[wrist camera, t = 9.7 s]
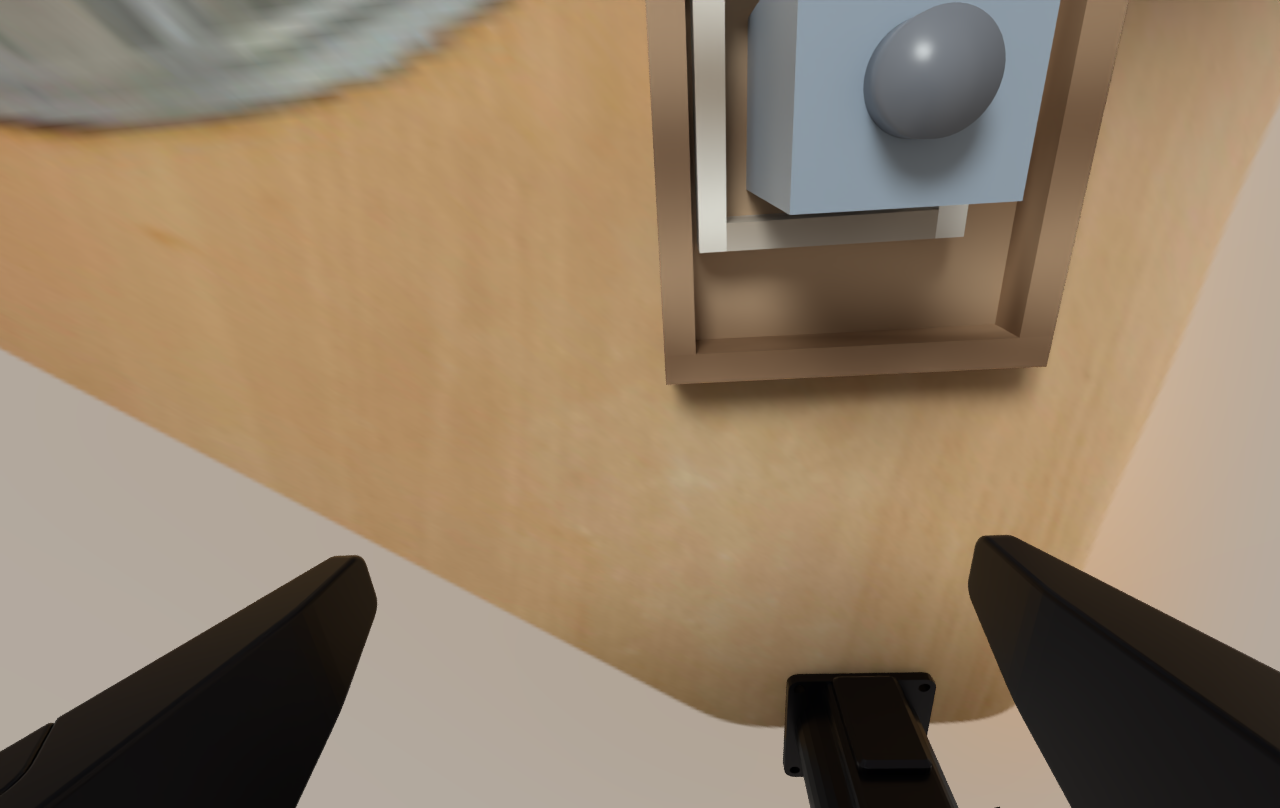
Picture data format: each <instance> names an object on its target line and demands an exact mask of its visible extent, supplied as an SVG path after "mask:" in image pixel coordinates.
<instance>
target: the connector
mask: <svg viewBox="0 0 1280 808" xmlns="http://www.w3.org/2000/svg"><path fill="white" fill-rule="evenodd" d="M1059 6H1060V0H759V2H758V3H757V5H756V6H755V8H754V10H753V11H752V13H751V14H750V16H749V17H748V53H747V154H746V190H748V191H750V192H751V193H753V194H755V195H757V196H758V197H760V198H762V199H763V200H765V201H767V202H769V203H770V204H772V205H774V206H775V207H777V208H779V209H780V210H782V211H784V212H786V213H787V214H789V215H797V214H814V213H831V212H847V211H864V210H881V209H897V208H914V207H931V206H947V205H964V204H981V203H998V202H1014V201H1022V200H1023V195H1024V190H1025V184H1026V179H1027V174H1028V169H1029V163H1030V158H1031V153H1032V148H1033V142H1034V137H1035V132H1036V127H1037V121H1038V116H1039V111H1040V106H1041V100H1042V95H1043V90H1044V85H1045V79H1046V74H1047V69H1048V63H1049V58H1050V53H1051V48H1052V42H1053V37H1054V32H1055V27H1056V21H1057V16H1058V11H1059Z"/></svg>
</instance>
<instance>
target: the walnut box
mask: <svg viewBox="0 0 1280 808" xmlns="http://www.w3.org/2000/svg"><path fill="white" fill-rule="evenodd" d="M1128 1H1129V0H1060V6H1059V11H1058V16H1057V21H1056V27H1055V32H1054V37H1053V42H1052V48H1051V53H1050V58H1049V63H1048V69H1047V74H1046V79H1045V85H1044V90H1043V95H1042V100H1041V106H1040V111H1039V116H1038V121H1037V127H1036V132H1035V137H1034V142H1033V148H1032V153H1031V158H1030V163H1029V169H1028V174H1027V179H1026V184H1025V190H1024V195H1023V200H1022V201H1014V202H998V203H981V204H964V205H947V206H931V207H914V208H897V209H881V210H864V211H847V212H831V213H814V214H797V215H789V214H787V213H786V212H784V211H782V210H780V209H779V208H777V207H775V206H774V205H772V204H770V203H769V202H767V201H765V200H763V199H762V198H760V197H758V196H757V195H755V194H753V193H751V192H750V191H748V190H746V154H747V53H748V17H749V16H750V14H751V13H752V11H753V10H754V8H755V6H756V5H757V3H758V2H759V0H646V18H647V37H648V55H649V74H650V93H651V111H652V130H653V148H654V167H655V185H656V204H657V223H658V241H659V260H660V278H661V297H662V316H663V334H664V353H665V371H666V385H671V384H692V383H713V382H734V381H754V380H775V379H796V378H817V377H838V376H859V375H880V374H900V373H921V372H942V371H963V370H984V369H1005V368H1026V367H1046V366H1047V362H1048V357H1049V353H1050V348H1051V344H1052V339H1053V335H1054V330H1055V326H1056V322H1057V317H1058V313H1059V308H1060V304H1061V299H1062V295H1063V290H1064V286H1065V281H1066V277H1067V273H1068V268H1069V264H1070V259H1071V255H1072V250H1073V246H1074V241H1075V237H1076V232H1077V228H1078V224H1079V219H1080V215H1081V210H1082V206H1083V201H1084V197H1085V192H1086V188H1087V184H1088V179H1089V175H1090V170H1091V166H1092V161H1093V157H1094V152H1095V148H1096V143H1097V139H1098V135H1099V130H1100V126H1101V121H1102V117H1103V112H1104V108H1105V103H1106V99H1107V95H1108V90H1109V86H1110V81H1111V77H1112V72H1113V68H1114V63H1115V59H1116V54H1117V50H1118V46H1119V41H1120V37H1121V32H1122V28H1123V23H1124V19H1125V14H1126V10H1127V6H1128Z"/></svg>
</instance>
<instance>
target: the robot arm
mask: <svg viewBox="0 0 1280 808" xmlns="http://www.w3.org/2000/svg"><path fill="white" fill-rule="evenodd" d="M968 590H969V595H970V599H971V601H972V604H973V606H974V609H975V611H976V613H977V616H978V618H979V621H980V623H981V625H982V628H983V630H984V632H985V635H986V637H987V640H988V642H989V644H990V647H991V649H992V652H993V654H994V656H995V659H996V661H997V663H998V666H999V668H1000V671H1001V673H1002V675H1003V678H1004V680H1005V683H1006V685H1007V687H1008V689H1009V691H1010V694H1011V696H1012V698H1013V700H1014V702H1015V704H1016V706H1017V708H1018V710H1019V712H1020V714H1021V716H1022V718H1023V720H1024V721H1025V723H1026V725H1027V727H1028V729H1029V731H1030V732H1031V734H1032V736H1033V738H1034V740H1035V742H1036V744H1037V745H1038V747H1039V749H1040V751H1041V753H1042V754H1043V756H1044V758H1045V760H1046V762H1047V763H1048V765H1049V767H1050V769H1051V771H1052V773H1053V775H1054V776H1055V778H1056V780H1057V782H1058V784H1059V785H1060V787H1061V789H1062V791H1063V793H1064V795H1065V797H1066V798H1067V800H1068V802H1069V804H1070V806H1071V808H1280V672H1279V671H1277V670H1275V669H1273V668H1271V667H1269V666H1267V665H1265V664H1263V663H1261V662H1259V661H1257V660H1255V659H1253V658H1252V657H1250V656H1247V655H1246V654H1244V653H1242V652H1240V651H1238V650H1236V649H1234V648H1232V647H1230V646H1228V645H1226V644H1224V643H1222V642H1220V641H1218V640H1216V639H1214V638H1212V637H1210V636H1208V635H1206V634H1204V633H1202V632H1201V631H1199V630H1197V629H1195V628H1193V627H1191V626H1188V625H1187V624H1185V623H1183V622H1181V621H1179V620H1177V619H1175V618H1173V617H1171V616H1169V615H1167V614H1165V613H1163V612H1161V611H1159V610H1157V609H1155V608H1153V607H1151V606H1150V605H1148V604H1146V603H1144V602H1142V601H1140V600H1138V599H1135V598H1134V597H1132V596H1130V595H1128V594H1126V593H1124V592H1122V591H1120V590H1118V589H1116V588H1114V587H1112V586H1110V585H1108V584H1106V583H1104V582H1102V581H1100V580H1098V579H1096V578H1095V577H1093V576H1091V575H1089V574H1087V573H1085V572H1083V571H1081V570H1079V569H1077V568H1075V567H1073V566H1071V565H1069V564H1067V563H1065V562H1063V561H1061V560H1059V559H1057V558H1055V557H1053V556H1051V555H1049V554H1048V553H1046V552H1044V551H1042V550H1040V549H1038V548H1036V547H1034V546H1032V545H1030V544H1028V543H1026V542H1024V541H1022V540H1020V539H1018V538H1016V537H1014V536H1011V535H989V536H982V537H980V538H979V539H978V540H977V542H976V545H975V549H974V554H973V559H972V564H971V569H970V574H969V579H968ZM376 610H377V597H376V593H375V590H374V587H373V584H372V581H371V578H370V575H369V572H368V568H367V566H366V563H365V561H364V559H363V558H362V557H360V556H357V555H349V556H334V557H331V558H329V559H327V560H326V561H324V562H322V563H320V564H319V565H317V566H315V567H314V568H312V569H310V570H309V571H307V572H305V573H303V574H302V575H300V576H298V577H297V578H295V579H293V580H292V581H290V582H288V583H286V584H285V585H283V586H281V587H279V588H278V589H276V590H274V591H273V592H271V593H269V594H268V595H266V596H264V597H262V598H261V599H259V600H257V601H256V602H254V603H252V604H251V605H249V606H247V607H246V608H244V609H242V610H240V611H239V612H237V613H235V614H234V615H232V616H230V617H229V618H227V619H225V620H224V621H222V622H220V623H218V624H217V625H215V626H213V627H212V628H210V629H208V630H206V631H205V632H203V633H201V634H200V635H198V636H196V637H195V638H193V639H191V640H189V641H188V642H186V643H185V644H183V645H181V646H179V647H178V648H176V649H174V650H172V651H171V652H169V653H167V654H166V655H164V656H162V657H161V658H159V659H157V660H155V661H154V662H152V663H150V664H149V665H147V666H145V667H144V668H142V669H140V670H138V671H137V672H135V673H133V674H132V675H130V676H128V677H127V678H125V679H123V680H121V681H120V682H118V683H117V684H115V685H113V686H111V687H110V688H108V689H106V690H104V691H103V692H101V693H99V694H98V695H96V696H94V697H93V698H91V699H89V700H88V701H86V702H84V703H83V704H81V705H79V706H77V707H76V708H74V709H72V710H71V711H69V712H67V713H65V714H64V715H62V716H60V717H59V718H57V720H56V721H55V723H48V724H46V725H45V726H43V727H41V728H40V729H38V730H36V731H34V732H33V733H31V734H29V735H28V736H26V737H24V738H23V739H21V740H19V741H18V742H16V743H14V744H13V745H11V746H9V747H7V748H6V749H4V750H2V751H0V808H296V806H297V804H298V802H299V799H300V797H301V795H302V793H303V791H304V789H305V787H306V785H307V782H308V780H309V778H310V776H311V774H312V772H313V770H314V768H315V765H316V763H317V761H318V759H319V757H320V755H321V753H322V751H323V749H324V746H325V744H326V742H327V740H328V738H329V736H330V734H331V732H332V729H333V727H334V725H335V723H336V720H337V718H338V716H339V714H340V711H341V709H342V706H343V704H344V701H345V698H346V696H347V693H348V691H349V688H350V685H351V682H352V679H353V676H354V674H355V671H356V668H357V665H358V662H359V660H360V657H361V654H362V651H363V648H364V646H365V643H366V640H367V637H368V634H369V631H370V628H371V626H372V623H373V620H374V617H375V614H376ZM935 690H936V684H935V682H934V680H933V678H932V677H931V675H930V674H928V673H924V672H911V673H850V674H797V675H793V676H791V677H789V678H788V680H787V686H786V708H785V731H784V752H783V753H784V754H783V765H784V770H785V773H786V774H787V775H789V776H792V777H804V780H805V784H806V789H807V794H808V799H809V803H810V808H958V806H957V803H956V801H955V799H954V797H953V794H952V792H951V790H950V788H949V785H948V783H947V781H946V778H945V776H944V774H943V772H942V770H941V767H940V765H939V763H938V760H937V758H936V756H935V754H934V751H933V749H932V747H931V744H930V742H929V740H928V738H927V732H928V727H929V722H930V716H931V711H932V706H933V700H934V695H935ZM996 808H1000V807H996Z"/></svg>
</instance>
